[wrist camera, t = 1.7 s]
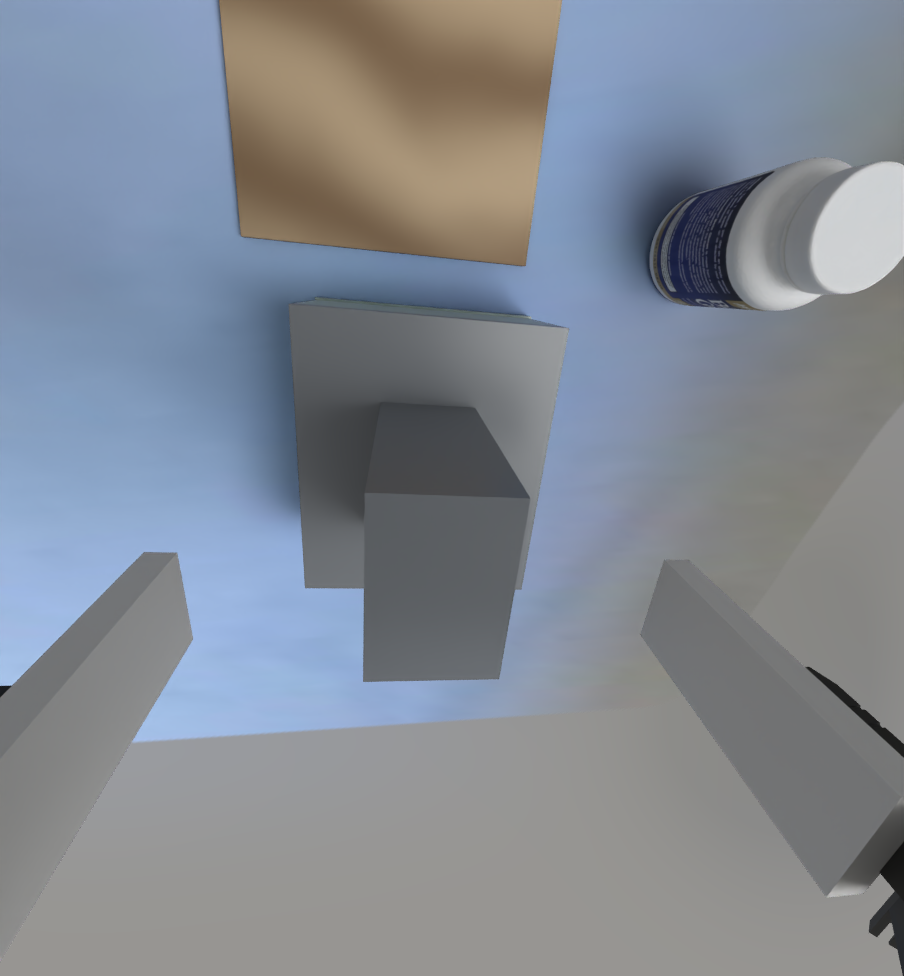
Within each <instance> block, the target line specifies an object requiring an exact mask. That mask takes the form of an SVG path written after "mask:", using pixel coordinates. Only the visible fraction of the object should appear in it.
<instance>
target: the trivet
mask: <svg viewBox="0 0 904 976" xmlns="http://www.w3.org/2000/svg"><path fill="white" fill-rule="evenodd" d="M219 4H220V14H221V25H222V36H223V47H224V58H225V68H226V79H227V90H228V101H229V111H230V122H231V133H232V144H233V154H234V165H235V176H236V187H237V198H238V208H239V219H240V230H241V236H242V237H249V238H258V239H268V240H277V241H287V242H297V243H306V244H316V245H325V246H335V247H344V248H354V249H364V250H373V251H383V252H392V253H402V254H411V255H421V256H430V257H440V258H450V259H459V260H469V261H478V262H488V263H497V264H507V265H516V266H526V258H527V251H528V244H529V237H530V229H531V222H532V215H533V208H534V200H535V193H536V186H537V179H538V171H539V164H540V157H541V149H542V142H543V135H544V128H545V120H546V113H547V106H548V99H549V91H550V84H551V77H552V70H553V62H554V55H555V48H556V41H557V33H558V26H559V19H560V12H561V4H562V0H219Z"/></svg>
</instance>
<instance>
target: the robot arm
mask: <svg viewBox="0 0 904 976" xmlns="http://www.w3.org/2000/svg"><path fill="white" fill-rule="evenodd" d="M640 635H641V636H642V638H643V639H644V641H645V642H646V643H647V645H648V646H649V648H650V649H651V650H652V652H653V653H654V655H655V656H656V658H657V659H658V660H659V662H660V663H661V665H662V666H663V667H664V669H665V670H666V672H667V673H668V675H669V676H670V677H671V679H672V680H673V682H674V683H675V684H676V686H677V687H678V689H679V690H680V691H681V693H682V694H683V696H684V697H685V698H686V700H687V701H688V703H689V704H690V706H691V707H692V708H693V710H694V711H695V713H696V714H697V716H698V717H699V718H700V720H701V721H702V723H703V724H704V725H705V727H706V728H707V730H708V731H709V733H710V734H711V735H712V736H713V738H714V739H715V741H716V742H717V744H718V745H719V746H720V748H721V749H722V751H723V752H724V754H725V755H726V757H727V758H728V759H729V760H730V762H731V764H732V765H733V766H734V768H735V769H736V771H737V772H738V774H739V775H740V776H741V778H742V779H743V781H744V782H745V783H746V785H747V786H748V787H749V789H750V790H751V792H752V793H753V794H754V796H755V798H756V799H757V800H758V802H759V803H760V805H761V806H762V807H763V809H764V810H765V812H766V813H767V815H768V816H769V817H770V819H771V820H772V822H773V823H774V824H775V826H776V827H777V829H778V830H779V831H780V833H781V834H782V836H783V837H784V838H785V840H786V841H787V843H788V844H789V845H790V847H791V848H792V850H793V851H794V852H795V854H796V855H797V857H798V858H799V860H800V861H801V863H802V864H803V865H804V867H805V868H806V870H807V871H808V872H809V874H810V875H811V877H812V878H813V880H814V881H815V882H816V884H817V885H818V886H819V888H820V889H821V891H822V892H823V894H824V895H825V896H826V897H836V896H846V895H856V894H864V892H865V891H866V890H867V889H868V888H869V886H870V885H871V884H872V883H873V881H874V880H875V879H876V878H877V877H878V875H879V874H880V873H881V875H882V876H883V877H884V878H885V879H886V881H887V882H888V883H889V884H890V885H891V887H892V888H893V889H894V890H895V892H894V893H893V894H892V895H891V896H890V898H889V899H888V900H887V901H886V902H885V903H884V905H883V906H882V907H881V908H880V909H879V910H878V912H877V913H876V914H875V915H874V916H873V918H872V919H871V920H870V925H869V932H870V933H871V934H873V935H874V936H876V937H878V935H879V934H880V933H881V932H882V931H883V930H884V929H885V928H886V926H887V925H888V924H889V923H892V925H893V930H894V936H893V937H892V938H891V940H890V941H889V945H891V946H893V947H894V948H896V949H898V954H899V959H900V964H901V969H902V973H903V976H904V744H903V743H902V742H901V741H900V740H898V739H897V738H896V737H895V736H894V735H893V734H892V733H891V732H889V731H888V730H887V729H886V728H882V727H881V726H880V723H879V722H878V721H877V720H876V719H875V718H874V717H873V716H872V715H870V714H869V713H868V712H867V711H866V710H862V709H861V708H860V705H859V704H858V703H857V702H856V701H855V700H854V699H853V698H851V697H850V696H849V695H848V694H847V693H846V692H845V691H844V690H842V689H841V688H840V687H839V686H838V685H837V684H835V683H834V682H832V681H831V680H829V679H827V678H826V677H824V676H822V675H821V674H820V673H818V672H816V671H815V670H813V669H812V668H810V667H804V666H803V665H802V664H801V663H800V662H799V661H798V660H797V659H796V658H794V656H792V655H791V654H790V653H789V652H788V651H787V650H786V649H785V648H784V647H782V645H780V644H779V643H778V642H777V641H776V640H775V639H774V638H773V637H772V636H771V635H770V634H769V633H767V632H766V631H765V630H764V629H763V628H762V627H761V626H760V625H759V624H758V623H756V622H755V621H754V620H753V619H752V618H751V617H750V616H749V615H748V614H747V613H746V612H745V611H744V610H742V609H741V608H740V607H739V606H738V605H737V604H736V603H735V602H734V601H733V600H732V599H730V598H729V597H728V596H727V595H726V594H725V593H724V592H723V591H722V590H721V589H720V588H718V587H717V586H716V585H715V584H714V583H713V582H712V581H711V580H710V579H709V578H708V577H707V576H705V575H704V574H703V573H702V572H701V571H700V570H699V569H698V568H697V567H696V566H695V565H693V564H692V563H691V562H690V561H689V560H664V562H663V565H662V568H661V572H660V575H659V578H658V581H657V584H656V587H655V590H654V593H653V597H652V600H651V603H650V606H649V609H648V612H647V615H646V618H645V622H644V625H643V628H642V631H641V634H640ZM192 640H193V636H192V631H191V625H190V620H189V614H188V609H187V604H186V598H185V593H184V587H183V582H182V576H181V571H180V566H179V560H178V555H177V553H161V552H144V553H143V554H142V555H141V556H140V557H139V558H138V559H137V560H136V561H135V562H134V563H133V564H132V565H131V566H130V567H129V568H128V569H127V570H126V571H125V572H124V573H123V574H122V575H121V576H120V577H119V578H118V579H117V580H116V581H115V582H114V583H113V584H112V585H111V586H110V587H109V588H108V589H107V590H106V591H105V592H104V593H103V594H102V595H101V596H100V597H99V598H98V599H97V600H96V601H95V602H94V603H93V604H92V605H91V606H90V607H89V608H88V609H87V610H86V611H85V612H84V613H83V614H82V615H81V616H80V617H79V618H78V619H77V620H76V621H75V623H74V624H73V625H72V626H71V627H70V628H69V629H68V630H67V631H66V632H65V633H64V634H63V635H62V636H61V637H60V638H59V639H58V640H57V641H56V642H55V643H54V644H53V645H52V646H51V647H50V648H49V649H48V650H47V651H46V652H45V653H44V654H43V655H42V656H41V657H40V658H39V659H38V660H37V661H36V662H35V663H34V664H33V665H32V666H31V667H30V668H29V669H28V670H27V671H26V672H25V673H24V674H23V675H22V676H21V677H20V678H19V679H18V680H17V681H16V682H15V683H14V684H13V685H12V686H0V962H1V960H2V958H3V957H4V955H5V953H6V952H7V950H8V948H9V946H10V945H11V943H12V941H13V940H14V938H15V937H16V935H17V933H18V932H19V930H20V928H21V926H22V925H23V923H24V921H25V920H26V918H27V916H28V915H29V913H30V911H31V910H32V908H33V906H34V905H35V903H36V901H37V900H38V898H39V896H40V895H41V893H42V891H43V890H44V888H45V886H46V885H47V883H48V881H49V880H50V878H51V876H52V875H53V873H54V871H55V870H56V868H57V866H58V865H59V863H60V861H61V859H62V858H63V856H64V855H65V853H66V851H67V849H68V847H69V846H70V844H71V843H72V841H73V839H74V838H75V836H76V834H77V833H78V831H79V829H80V828H81V826H82V824H83V822H84V821H85V819H86V818H87V816H88V814H89V813H90V811H91V809H92V808H93V806H94V804H95V803H96V801H97V799H98V798H99V796H100V794H101V793H102V791H103V789H104V787H105V786H106V784H107V782H108V781H109V779H110V777H111V776H112V774H113V772H114V771H115V769H116V767H117V766H118V764H119V762H120V761H121V759H122V757H123V756H124V754H125V752H126V751H127V749H128V747H129V746H130V744H131V742H132V741H133V739H134V737H135V736H136V734H137V732H138V731H139V729H140V727H141V726H142V724H143V722H144V720H145V719H146V717H147V715H148V714H149V712H150V710H151V709H152V707H153V705H154V704H155V702H156V700H157V699H158V697H159V695H160V694H161V692H162V690H163V689H164V687H165V685H166V684H167V682H168V680H169V679H170V677H171V675H172V674H173V672H174V670H175V669H176V667H177V665H178V664H179V662H180V660H181V659H182V657H183V655H184V653H185V652H186V650H187V648H188V647H189V645H190V643H191V642H192Z"/></svg>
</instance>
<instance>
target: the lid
mask: <svg viewBox="0 0 904 976" xmlns="http://www.w3.org/2000/svg"><path fill="white" fill-rule="evenodd" d="M289 320H290V337H291V354H292V372H293V389H294V406H295V423H296V441H297V458H298V475H299V492H300V509H301V527H302V544H303V561H304V578H305V588H364V651H363V682H376V681H427V680H477V679H499V676H500V671H501V665H502V659H503V654H504V648H505V642H506V637H507V631H508V625H509V619H510V614H511V608H512V602H513V597H514V591H515V590H521V589H522V583H523V578H524V572H525V567H526V561H527V556H528V550H529V545H530V539H531V534H532V528H533V523H534V517H535V512H536V507H537V501H538V496H539V490H540V485H541V479H542V474H543V468H544V463H545V457H546V452H547V446H548V441H549V435H550V430H551V424H552V419H553V413H554V408H555V403H556V397H557V392H558V386H559V381H560V375H561V370H562V364H563V359H564V353H565V348H566V342H567V337H568V331H569V328H565V327H561V326H550V325H539V324H527V323H516V322H504V321H493V320H481V319H470V318H459V317H447V316H436V315H424V314H413V313H401V312H390V311H379V310H367V309H356V308H344V307H333V306H321V305H310V304H298V303H292V304H289Z"/></svg>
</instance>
